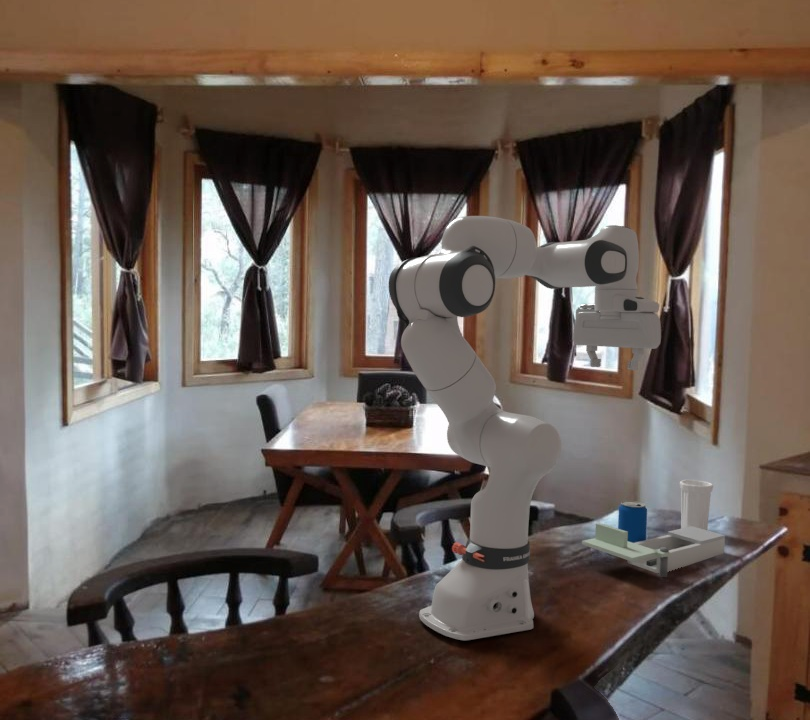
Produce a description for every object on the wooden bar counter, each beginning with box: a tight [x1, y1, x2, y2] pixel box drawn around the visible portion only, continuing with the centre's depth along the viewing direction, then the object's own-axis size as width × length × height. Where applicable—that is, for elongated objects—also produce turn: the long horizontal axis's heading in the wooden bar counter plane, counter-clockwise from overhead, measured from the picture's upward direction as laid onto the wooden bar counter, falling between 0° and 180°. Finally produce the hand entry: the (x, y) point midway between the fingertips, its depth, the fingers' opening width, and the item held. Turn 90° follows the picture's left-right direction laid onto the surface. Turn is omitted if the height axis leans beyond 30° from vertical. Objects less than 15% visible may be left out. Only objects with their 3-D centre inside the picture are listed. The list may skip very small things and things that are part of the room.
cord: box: [646, 558, 657, 566], centre depth 173 cm, size 23×1×1 cm, turn 125°
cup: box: [679, 479, 714, 530], centre depth 192 cm, size 8×8×14 cm
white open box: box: [627, 526, 726, 578], centre depth 172 cm, size 25×11×5 cm, turn 125°
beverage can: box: [617, 500, 648, 543], centre depth 178 cm, size 6×6×12 cm
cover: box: [581, 522, 670, 562], centre depth 164 cm, size 16×11×4 cm
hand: (613, 368), depth 159 cm, fingers open, 8 cm apart
